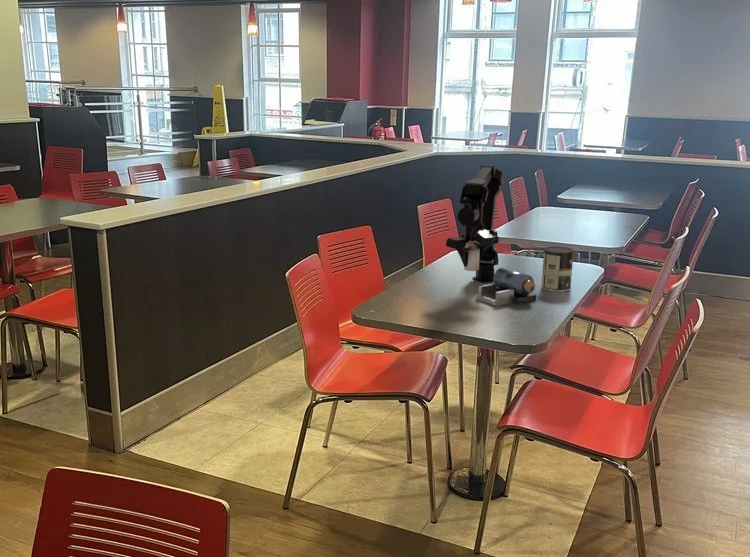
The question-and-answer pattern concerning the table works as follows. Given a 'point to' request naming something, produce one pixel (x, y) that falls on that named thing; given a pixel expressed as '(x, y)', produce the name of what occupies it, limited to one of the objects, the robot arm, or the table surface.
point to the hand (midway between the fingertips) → (471, 265)
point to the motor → (508, 288)
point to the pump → (473, 258)
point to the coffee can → (557, 269)
